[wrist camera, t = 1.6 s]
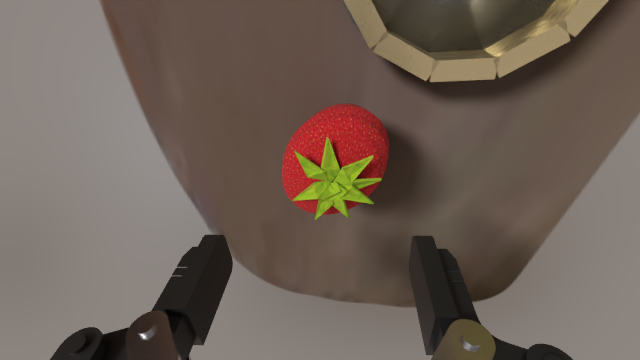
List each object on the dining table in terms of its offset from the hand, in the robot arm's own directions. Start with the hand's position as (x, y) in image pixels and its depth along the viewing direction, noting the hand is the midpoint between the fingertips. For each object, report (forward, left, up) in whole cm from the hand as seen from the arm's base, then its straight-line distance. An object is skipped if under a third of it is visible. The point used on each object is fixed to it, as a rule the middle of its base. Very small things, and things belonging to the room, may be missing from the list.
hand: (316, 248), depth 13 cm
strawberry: (0, +1, -12) cm, 12 cm away
